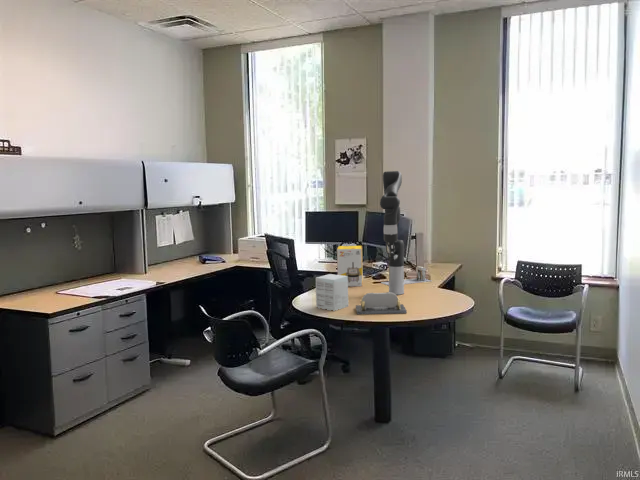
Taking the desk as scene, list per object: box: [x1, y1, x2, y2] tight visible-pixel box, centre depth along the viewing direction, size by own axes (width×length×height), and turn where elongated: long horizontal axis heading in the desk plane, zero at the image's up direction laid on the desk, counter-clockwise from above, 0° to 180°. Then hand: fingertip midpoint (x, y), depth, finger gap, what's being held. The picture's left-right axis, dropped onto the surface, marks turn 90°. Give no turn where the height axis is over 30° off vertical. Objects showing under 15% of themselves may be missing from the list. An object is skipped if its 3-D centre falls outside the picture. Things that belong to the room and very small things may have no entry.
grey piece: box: [361, 291, 399, 308], centre depth 288 cm, size 20×2×8 cm, turn 89°
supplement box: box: [315, 273, 349, 312], centre depth 298 cm, size 13×13×18 cm
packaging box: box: [336, 245, 364, 287], centre depth 362 cm, size 16×16×25 cm
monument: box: [380, 266, 432, 287], centre depth 363 cm, size 12×33×10 cm, turn 113°
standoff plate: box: [355, 297, 407, 315], centre depth 288 cm, size 14×26×6 cm, turn 89°
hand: (391, 261), depth 295 cm, fingers open, 8 cm apart
